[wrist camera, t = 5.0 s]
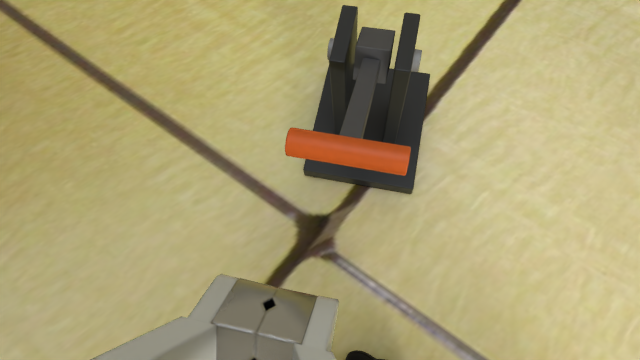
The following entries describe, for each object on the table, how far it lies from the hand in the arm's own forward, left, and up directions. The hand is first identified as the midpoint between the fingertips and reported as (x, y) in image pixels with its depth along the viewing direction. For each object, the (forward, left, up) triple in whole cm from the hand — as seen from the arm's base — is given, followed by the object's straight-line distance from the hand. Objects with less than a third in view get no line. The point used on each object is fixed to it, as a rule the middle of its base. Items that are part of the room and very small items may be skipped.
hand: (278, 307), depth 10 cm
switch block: (-1, +17, -23) cm, 29 cm away
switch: (-1, +13, -12) cm, 17 cm away
